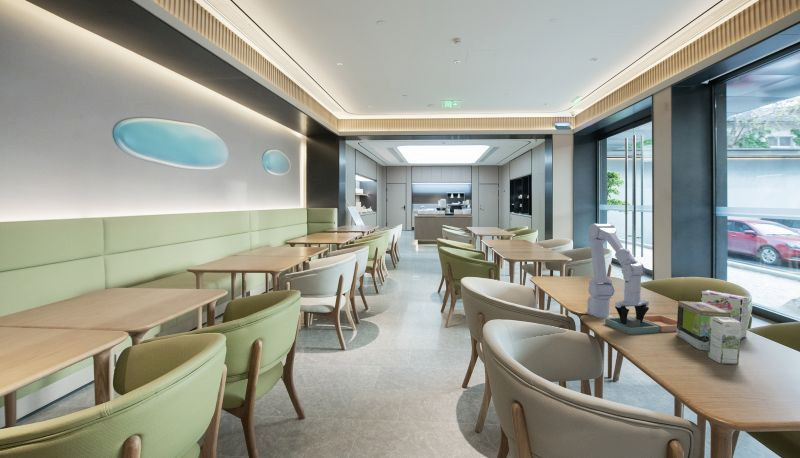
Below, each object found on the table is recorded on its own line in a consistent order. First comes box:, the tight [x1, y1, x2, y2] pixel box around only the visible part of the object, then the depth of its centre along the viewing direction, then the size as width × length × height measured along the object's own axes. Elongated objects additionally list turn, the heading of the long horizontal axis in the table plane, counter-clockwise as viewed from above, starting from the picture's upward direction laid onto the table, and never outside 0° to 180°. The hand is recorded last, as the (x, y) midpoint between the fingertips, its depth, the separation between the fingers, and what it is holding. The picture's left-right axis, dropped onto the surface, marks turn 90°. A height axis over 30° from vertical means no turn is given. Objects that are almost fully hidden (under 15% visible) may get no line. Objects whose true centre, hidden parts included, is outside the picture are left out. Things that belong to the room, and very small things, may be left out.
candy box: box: [700, 289, 750, 340], centre depth 148 cm, size 14×6×16 cm, turn 25°
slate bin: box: [604, 316, 660, 336], centre depth 153 cm, size 14×14×3 cm
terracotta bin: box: [634, 314, 677, 333], centre depth 156 cm, size 14×14×3 cm
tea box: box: [676, 300, 731, 352], centre depth 136 cm, size 15×10×15 cm, turn 168°
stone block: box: [622, 316, 640, 328], centre depth 153 cm, size 5×4×4 cm
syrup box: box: [707, 317, 741, 365], centre depth 121 cm, size 6×6×14 cm
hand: (631, 323), depth 153 cm, fingers open, 7 cm apart
